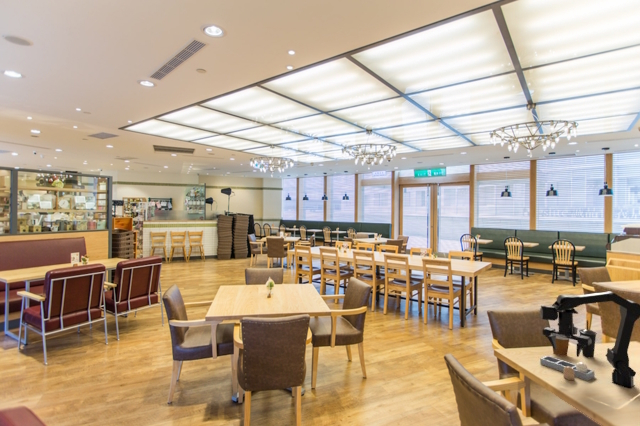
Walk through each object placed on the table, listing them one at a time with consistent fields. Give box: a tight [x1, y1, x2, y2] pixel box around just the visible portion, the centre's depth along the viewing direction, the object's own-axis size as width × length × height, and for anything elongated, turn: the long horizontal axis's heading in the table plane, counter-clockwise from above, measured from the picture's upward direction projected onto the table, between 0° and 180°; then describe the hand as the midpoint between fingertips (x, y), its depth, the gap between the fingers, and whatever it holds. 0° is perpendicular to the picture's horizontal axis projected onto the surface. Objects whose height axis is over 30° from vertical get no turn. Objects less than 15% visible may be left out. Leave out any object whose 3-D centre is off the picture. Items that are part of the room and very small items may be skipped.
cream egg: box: [575, 361, 588, 373], centre depth 159 cm, size 4×4×6 cm
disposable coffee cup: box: [551, 330, 570, 357], centre depth 185 cm, size 10×10×12 cm
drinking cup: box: [578, 320, 597, 359], centre depth 183 cm, size 8×8×20 cm
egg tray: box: [539, 355, 596, 381], centre depth 164 cm, size 21×7×4 cm, turn 30°
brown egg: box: [563, 366, 576, 381], centre depth 155 cm, size 4×4×6 cm
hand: (566, 353), depth 159 cm, fingers open, 9 cm apart
